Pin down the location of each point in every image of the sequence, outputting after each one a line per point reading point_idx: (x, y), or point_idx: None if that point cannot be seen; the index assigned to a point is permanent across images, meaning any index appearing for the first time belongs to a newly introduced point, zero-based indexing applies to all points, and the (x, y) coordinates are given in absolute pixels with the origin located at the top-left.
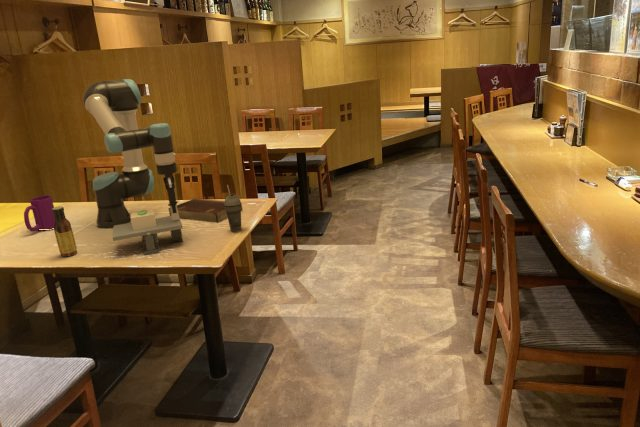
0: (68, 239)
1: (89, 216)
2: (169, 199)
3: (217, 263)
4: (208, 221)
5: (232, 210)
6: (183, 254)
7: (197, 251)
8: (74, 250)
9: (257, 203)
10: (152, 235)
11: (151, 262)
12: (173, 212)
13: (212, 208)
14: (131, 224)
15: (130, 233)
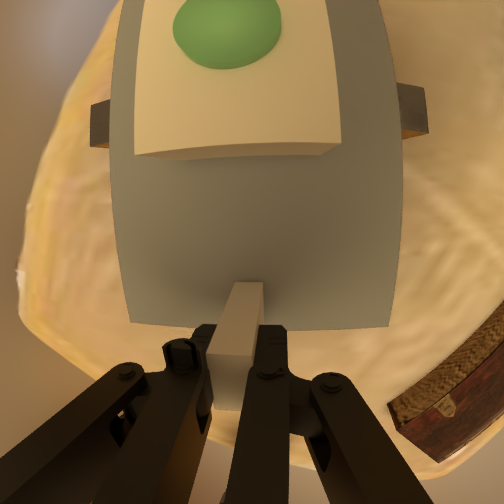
0: None
1: None
2: (86, 407)
3: (28, 326)
4: (424, 377)
5: (223, 494)
6: (86, 258)
7: (99, 305)
8: None
9: (446, 462)
10: (99, 142)
11: (62, 147)
12: (197, 331)
13: (461, 410)
14: (334, 3)
15: (130, 21)
